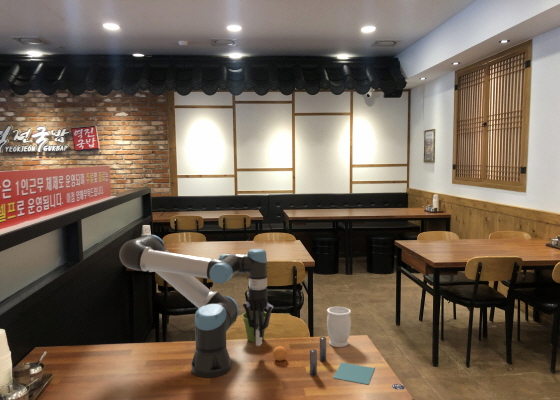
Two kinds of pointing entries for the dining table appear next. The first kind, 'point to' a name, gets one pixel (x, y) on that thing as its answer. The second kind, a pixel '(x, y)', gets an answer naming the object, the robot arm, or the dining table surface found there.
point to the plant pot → (249, 329)
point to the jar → (338, 326)
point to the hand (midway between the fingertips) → (259, 344)
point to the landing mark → (354, 373)
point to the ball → (279, 353)
